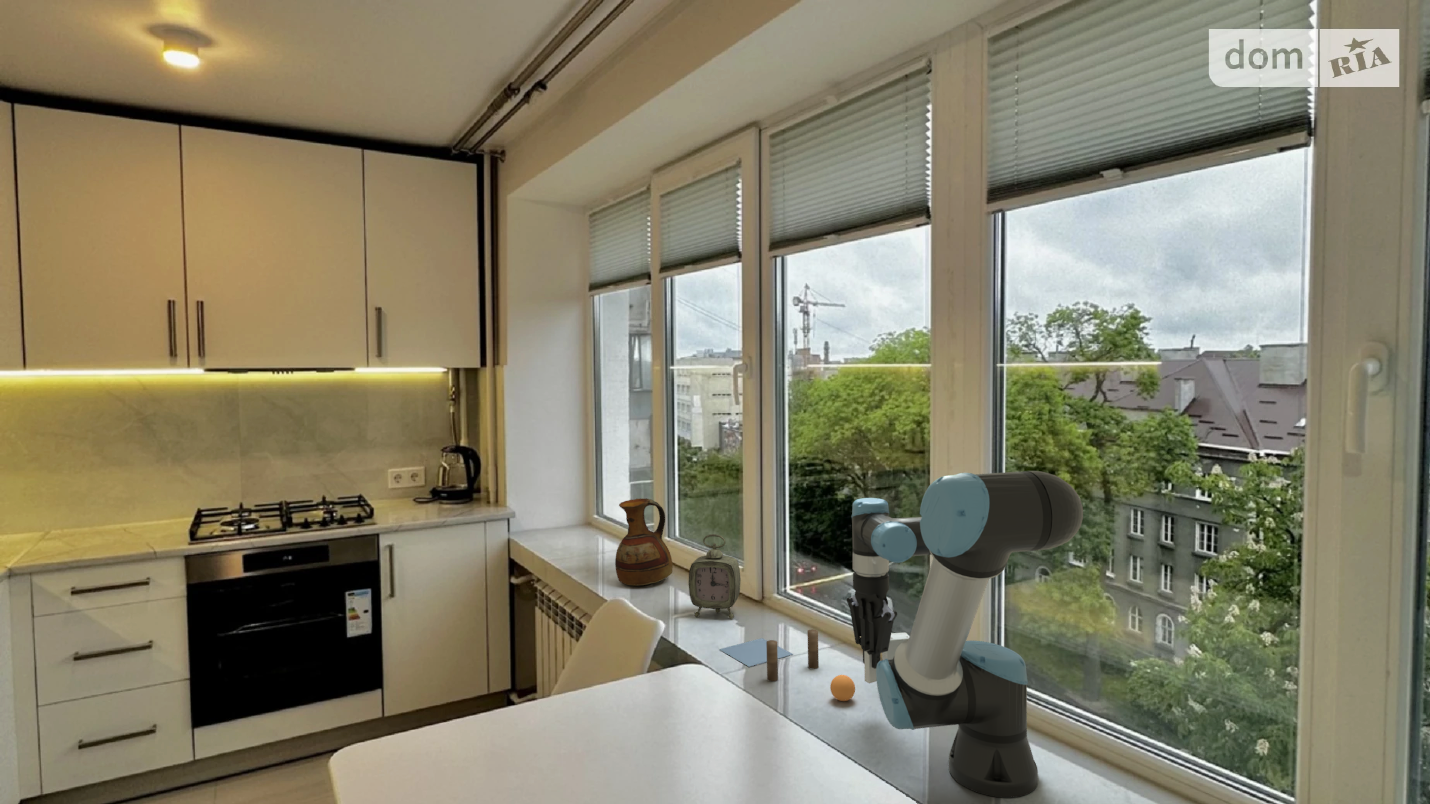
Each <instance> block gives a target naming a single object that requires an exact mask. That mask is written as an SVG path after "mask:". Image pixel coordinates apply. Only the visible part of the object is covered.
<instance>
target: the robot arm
mask: <svg viewBox="0 0 1430 804" xmlns="http://www.w3.org/2000/svg"><path fill="white" fill-rule="evenodd" d="M889 508H890V507H889V503H888V501H887V500H885V499H882V498H879V497H877V498H876V497H863V498H857V499H855V500H854V501H853V502H852V511H851V512H852V514H851V516H850V517H851V523H852V528H851V529H852V530H851V531H852V532H851V533H852V570H853V572H852V588H853V590H854V591H855V592H854V595H853V596H851V597H850V596H849V597H846V603H847V606H848V608H849V612H850V613H849V614H850V618H851V625H852V629H853V630H852V631H853V634H854V641H855V644H856V645H859V646H860V647H861V649H862V662H863V664H864V682H866V683H868V684H872V683H875V682H876V686H877V693H878V696H879V697H878V698H879V701H880V704H881V707H882V710H883V713H884V715H885V717H886V720H887V721H888V723H889V724H890V725H891V726H892V727H893V728H894V729H896V730H912V731H914V730H916V729H917V730H919V729H928V728H937V727H938V728H939V727H945V726H946V727H947V726H955V725H957V726H958V727H957V730H956V733H955V737H954V739H953V742H952V746H951V749H950V751H949V753H948V770H949V774H950V775H951V777H952V778H953V779H954V780H955V781H956V782H957V783H959V785H961V786H963V787H964V788H967V789H969V790H971V791H972V792H973V791H974V792H976V793H978V794H982V795H986V796H989V797H995V798H1018V797H1023V796H1026V795H1029V794H1031V793H1032V792H1033V791H1035V790H1036V788H1037V787H1038V784H1039V783H1038V782H1039V774H1038V773H1039V771H1038V765H1037V763H1036V761H1035V760H1034V755H1033V752H1032V749H1031V746H1030V743H1029V739H1028V728H1027V727H1028V711H1027V709H1028V706H1027V705H1028V693H1027V692H1028V689H1027V688H1028V684H1029V680H1028V675H1027V674H1028V673H1027V667H1026V665H1027V664H1026V662H1025V660H1024V658H1023V657H1022V656H1021V655H1020V654H1019V653H1018V652H1016V651H1014V650H1012V649H1011V648H1008V647H1006V646H1004V645H1000V644H997V643H993V642H988V641H982V640H967V639H968V636H969V633H970V631H971V630H972V626H973V623H974V621H975V617H976V616H977V612H978V609H979V607H980V604H981V601H982V599H983V597H984V593H985V591H986V588H987V585H988V583H989V580H990V579H993V578H996V577H997V576H1000V575H1001V573H1003V571H1004V570H1005V568H1006V567H1007V566H1006V565H1007V564H1008V561H1009V557H1010V556H1011V554H1012V553H1018V552H1019V553H1021V552H1035V551H1043V550H1045V551H1046V550H1051V549H1053V548H1058V547H1059V546H1062V545H1064V544H1066V543H1068V542H1069V541H1071V540H1072V539H1073V538H1074V536H1075V535H1076V534H1077V533H1078V532H1079V530H1080V528H1081V527H1082V523H1083V519H1084V508H1083V503H1082V501H1081V498H1080V496H1079V494H1078V493H1077V491H1076V490H1075V488H1073V487H1072V485H1070V484H1069V483H1068V482H1067V481H1065V480H1064V479H1063V478H1061V477H1059V476H1057V475H1055V474H1051V473H1049V472H1044V471H1039V470H1025V471H1009V472H1008V471H1007V472H993V473H989V472H988V473H976V474H975V473H971V472H960V473H957V474H950V475H943V476H939V477H938V478H937V479H935V480H934V481H933V482H931V483H930V485H929V486H928V487H927V489H926V490H925V492H924V494H923V497H922V499H921V504H920V510H919V515H920V516H914V517H900V518H899V517H898V518H897V517H896V518H893V517H891V516H890V510H889ZM917 556H918V557H919V556H920V557H921V556H931V557H932V558H933V559H932V561H931V565H930V568H929V571H928V575H927V578H926V581H925V585H924V588H923V591H922V595H921V597H920V601H919V605H918V607H917V611H916V614H915V616H914V621H913V623H912V626H911V631H910V633H909V634H910V635H909V636H910V637H909V639H907V640H905V641H904V642H902V643H901V644H900V645H899V646H898V648H897V649H896V652H895V655H894V658H893V659H891V660H888V659H885V660H881V655H882V653H883V652H886V651H888V648H889V643H890V638H891V634H892V632H893V627H894V621H895V619H896V618H897V616H898V612H897V611H896V610H894V609H893V610H892V609H891V607H890V606H889V600H888V598H887V597H888V596H887V594H888V592H889V590H890V575H889V573H888V572H889V569H890V565H889V564H890V562H891V563H897V564H898V563H900V564H901V563H903V562H905V561H908V560H909V559H911V558H912V557H917Z"/></svg>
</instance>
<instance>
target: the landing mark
mask: <svg viewBox="0 0 1430 804" xmlns="http://www.w3.org/2000/svg"><path fill="white" fill-rule="evenodd" d="M767 641H768V639H765V638H762V637H761V638H757V639H753V640H749V641H746V642H742V643H738V644H735V645H730V646H726V647H722V648H718V650H719V651H720V652H722V651H723V652H722V653H724V654H725V655H727V654H728V655H727V656H729V655H730V656H729V657H731V658H732V659H734V658H735V659H734V660H736V661H737V660H738V661H737V662H739V661H740V662H739V663H741V662H742V663H741V664H742V665H744V664H745V665H744V666H746V665H747V666H746V667H748V668H751V666H752V667H755V666H758V665H757V664H759V665H762V664H767V645H766V642H767ZM777 653H778V660H780V659H783V658H787V657H791V656H793V655H794V653H792V652H790V651H788V650H786V649H784V648H782V647H781V646H778V645H777ZM790 655H791V656H790ZM754 665H755V666H754Z"/></svg>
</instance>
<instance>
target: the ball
mask: <svg viewBox="0 0 1430 804" xmlns="http://www.w3.org/2000/svg"><path fill="white" fill-rule="evenodd" d="M829 689H830V692H831V695H832V697H834V698H835V699H836V700H838V701H839V702H847V701H849V700H851V699H852V698H853V697H854V695H855V694H856V693H855V692H856V685H855V682H854V680H853V679H852V678H851V677H850V676H848V675H845V674H839V675H836V676H835V677H833V679H832V680H831V682H830V687H829Z"/></svg>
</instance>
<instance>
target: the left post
mask: <svg viewBox="0 0 1430 804" xmlns="http://www.w3.org/2000/svg"><path fill="white" fill-rule="evenodd" d="M766 645H767V662H766V679H767V681H769V682H776V681H778V680H779V665H778V664H779V663H778V662H779V661H778V660H779V659H778V653H777V646H778V641H777V640H774V639H773V640H772V639H771V640H770V639H769V640H767V642H766Z"/></svg>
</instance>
